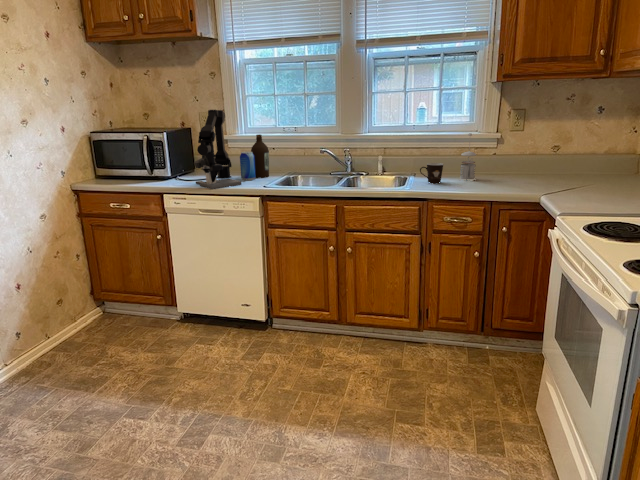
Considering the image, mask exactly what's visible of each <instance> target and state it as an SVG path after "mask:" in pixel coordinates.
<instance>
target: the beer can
mask: <svg viewBox="0 0 640 480" xmlns="http://www.w3.org/2000/svg"><path fill="white" fill-rule="evenodd" d="M239 167H240V177H241V179H242V181H244V182H245V181H255V179H256V178H255V177H256V175H255V159H254V155H253V153H252V152H251V151H241V152H240V155H239Z"/></svg>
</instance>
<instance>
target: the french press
mask: <svg viewBox="0 0 640 480" xmlns="http://www.w3.org/2000/svg"><path fill="white" fill-rule="evenodd" d="M467 136H469V137H471V136H473V134H472V133H468V135H467ZM468 143H469V144H468V145H469V147H468V151H465V152H462V153H461V154H460V156H462V157H467V159H468V160H462V161H461V163H462V164H460V171H459V173H460V176H459V178H460V179H466V180H467V179H474V178H475V179H476V164H475V163H476V161H474V160H473V158H471V159H470V157H475V156H477V154H476V153H475V152H473V151H470V149H471V148H470V146H471V140H469V142H468Z"/></svg>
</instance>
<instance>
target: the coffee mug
mask: <svg viewBox="0 0 640 480" xmlns="http://www.w3.org/2000/svg"><path fill="white" fill-rule="evenodd" d="M423 169H425V170H426V171H427V175H426V174H424V173H423V172H422V170H423ZM443 169H444V163H443V162H442V163H440V162H429V163H426V166H421V167H420V168H419V172H420V174H421V175H423V176H424V177H425V178H427V183H428V182H430V183H439V182H440V183H441V180H442V176H443V175H442V174H443ZM430 183H429V184H430ZM440 183H439V184H440Z"/></svg>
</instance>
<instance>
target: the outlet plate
mask: <svg viewBox="0 0 640 480" xmlns="http://www.w3.org/2000/svg"><path fill="white" fill-rule="evenodd" d="M199 186H200V187H202V188H206V189H209V190H216V189H217V190H218V189H225V188H229V186H231V187H236V186H242V181H241V180H237V179H233V178H230V177H229V178H220V179H216V183H213V184H207V183H206V181H204V182H200V185H199Z"/></svg>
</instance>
